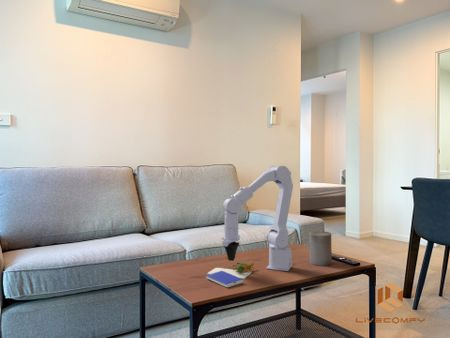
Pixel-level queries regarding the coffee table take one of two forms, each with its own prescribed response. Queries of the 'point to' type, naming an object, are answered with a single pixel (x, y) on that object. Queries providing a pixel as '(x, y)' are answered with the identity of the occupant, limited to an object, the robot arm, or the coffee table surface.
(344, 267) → the coffee table surface
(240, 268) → the figurine
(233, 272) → the cream mat
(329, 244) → the pillar candle
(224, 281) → the hard drive
